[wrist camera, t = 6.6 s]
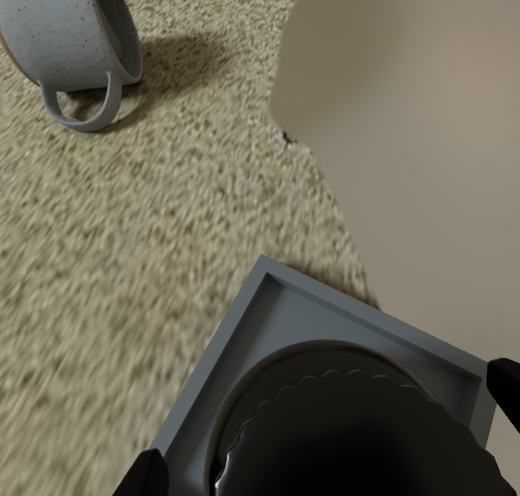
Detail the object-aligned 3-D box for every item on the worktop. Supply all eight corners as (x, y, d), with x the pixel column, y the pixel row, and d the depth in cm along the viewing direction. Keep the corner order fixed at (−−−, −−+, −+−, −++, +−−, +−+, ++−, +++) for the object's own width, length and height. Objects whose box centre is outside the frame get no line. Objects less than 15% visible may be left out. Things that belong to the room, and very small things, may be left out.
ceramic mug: (60, 56, 29) (-12, -45, 22) (145, 42, 29) (99, -65, 22) (44, 145, 25) (-50, 57, 18) (143, 130, 25) (86, 35, 18)
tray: (480, 371, 16) (504, 370, 15) (394, 679, 12) (413, 732, 11) (263, 265, 20) (261, 253, 18) (140, 482, 16) (121, 496, 14)
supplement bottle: (354, 344, 17) (478, 269, 6) (410, 496, 14) (844, 895, 3) (231, 378, 17) (121, 366, 6) (263, 539, 14) (169, 1120, 3)
